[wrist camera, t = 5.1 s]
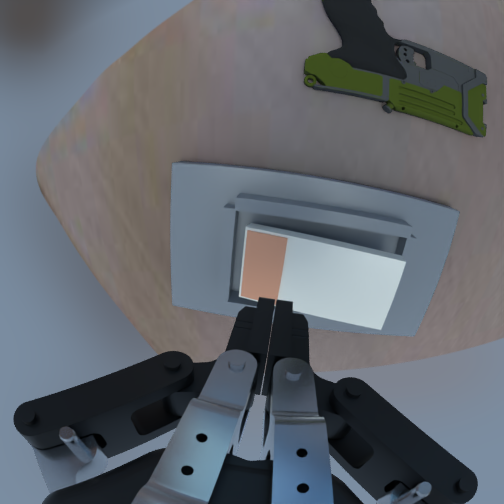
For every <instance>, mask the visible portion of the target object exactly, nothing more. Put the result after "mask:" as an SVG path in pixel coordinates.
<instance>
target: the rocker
mask: <svg viewBox="0 0 504 504" xmlns="http://www.w3.org/2000/svg"><path fill="white" fill-rule="evenodd" d="M405 264H406V261H405V259H404V257H403V256H401V255H397V254H393V253H388V252H384V251H380V250H376V249H371V248H367V247H363V246H358V245H354V244H350V243H345V242H341V241H336V240H331V239H327V238H322V237H318V236H313V235H308V234H303V233H299V232H294V231H289V230H284V229H279V228H274V227H269V226H264V225H259V224H254V223H250V224H249V225H247V226H246V228H245V238H244V248H243V258H242V268H241V279H240V289H239V297H242V298H246V299H250V300H254V301H257V302H258V299H259V297H264V298H270V299H275V305H274V306H276V301H277V299H278V300H285V301H293V311H297V312H301V313H305V314H310V315H314V316H318V317H323V318H327V319H331V320H336V321H340V322H345V323H350V324H354V325H359V326H364V327H369V328H373V329H378V330H381V329H382V326H383V324H384V321H385V319H386V317H387V314H388V312H389V309H390V306H391V304H392V301H393V299H394V296H395V293H396V290H397V288H398V285H399V282H400V279H401V276H402V273H403V270H404V267H405Z"/></svg>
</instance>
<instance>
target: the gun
mask: <svg viewBox="0 0 504 504" xmlns="http://www.w3.org/2000/svg"><path fill="white" fill-rule="evenodd" d="M322 2H323V5H324V8H325V10H326V12H327V14H328V16H329V18H330V20H331V21H332V23H333V24H334V26H335V27H336V28H337V30H338V32H339V33H340V35H341V37H342V41H343V46H342V47H341V48H339V49H336V50H333V51H330V52H328V53H319V54H315V55H312V56H309V57H308V59H306V60H305V67H304V74H306V75H307V76H306V77H305V79H304V83H305V85H306V86H308V87H313V89H315V90H322V91H329V92H335V93H341V94H346V95H351V96H356V97H361V98H366V99H370V100H375V101H379V102H386V103H387V104H386V105H384V106H383V107H382V108H383V109H384V111H385V112H387V113H391V112H392V109H393V110H395V111H399V112H403V113H406V114H410V115H413V116H417V117H420V118H423V119H426V120H430V121H433V122H436V123H439V124H441V125H444V126H447V127H450V128H452V129H455V130H458V131H460V132H463V133H465V134H468V135H473V136H476V137H483V136H486V126H487V125H486V124H483V104H487V99H486V86H485V85H487V77H486V75H485V74H484V73H482V72H480V71H478V70H477V69H473V68H471V67H469V66H467V65H465V64H463V63H461V62H459V61H457V60H455V59H453V58H451V57H448V56H446V55H444V54H442V53H439V52H437V51H434V50H432V49H430V48H427V47H425V46H422V45H419V44H417V43H414V42H411V41H408V40H398V39H394V38H392V37H391V36H389V35H388V34H387V32H386V30H385V28H384V24H383V21H382V20H381V19H380V18H379V17H378V15H377V10H376V8H375V7H374V6H373V5H372V3H371V0H322ZM394 45H398V46H400V47H399V48H398V49H397V57H395V51H394ZM414 51H415V52H418V53H420V54H423V55H424V57H425V59H426V69H424V68H421V67H418V66H416V63H415V62H414V61H413V60H414V59H413V54H414ZM404 55H405V56H404ZM406 61H407V62H406ZM308 79H312V81H313V83H309V82H308ZM316 80H317V81H318V82H319V83H320V84H321V85H316Z"/></svg>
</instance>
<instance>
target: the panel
mask: <svg viewBox="0 0 504 504" xmlns="http://www.w3.org/2000/svg"><path fill="white" fill-rule="evenodd" d="M459 213H460V212H459V211H457V210H455V209H453V208H452V207H449V206H446V205H443V204H439V203H436V202H432V201H429V200H425V199H421V198H417V197H414V196H410V195H406V194H402V193H398V192H394V191H389V190H385V189H381V188H376V187H371V186H367V185H362V184H357V183H352V182H347V181H342V180H337V179H331V178H325V177H320V176H313V175H307V174H301V173H294V172H287V171H280V170H273V169H265V168H256V167H247V166H238V165H227V164H216V163H202V162H187V161H179V162H174V163H172V180H171V218H170V246H171V284H172V305H174V306H179V307H184V308H189V309H194V310H199V311H204V312H209V313H215V314H220V315H226V316H232V317H237V315H238V312H239V311H240V310H241V309H243V308H244V307H245V306H248V307H255V308H256V307H257V303H258V302H257V301H254V300H250V299H246V298H242V297H239V289H240V279H241V268H242V258H243V248H244V238H245V228H246V226H247V225H249V224H250V223H254V224H259V225H264V226H269V227H274V228H279V229H284V230H289V231H294V232H299V233H303V234H308V235H313V236H318V237H322V238H327V239H331V240H336V241H341V242H345V243H350V244H354V245H358V246H363V247H367V248H371V249H376V250H380V251H384V252H388V253H393V254H397V255H401V256H403V257H404V259H405V261H406V264H405V267H404V270H403V273H402V276H401V279H400V282H399V285H398V288H397V290H396V293H395V296H394V299H393V301H392V304H391V306H390V309H389V312H388V314H387V317H386V319H385V321H384V324H383V326H382V329H381V330H378V329H373V328H369V327H364V326H359V325H354V324H350V323H345V322H340V321H336V320H331V319H327V318H323V317H318V316H314V315H310V314H305V313H301V312H297V311H293V313H298V314H303V315H304V316H305V318H306V319H307V321H308V328H315V329H324V330H333V331H343V332H354V333H366V334H380V335H396V336H415V334H416V332H417V330H418V328H419V326H420V323H421V321H422V319H423V317H424V315H425V313H426V310H427V308H428V306H429V303H430V301H431V299H432V296H433V294H434V291H435V289H436V286H437V283H438V281H439V278H440V275H441V273H442V270H443V267H444V264H445V261H446V258H447V255H448V252H449V249H450V246H451V242H452V239H453V236H454V232H455V228H456V225H457V221H458V217H459ZM275 307H276V306H274V312H273V319H274V313H275ZM273 319H272V323H273Z"/></svg>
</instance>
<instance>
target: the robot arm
mask: <svg viewBox="0 0 504 504" xmlns="http://www.w3.org/2000/svg"><path fill="white" fill-rule="evenodd" d="M274 305H275V299H270V298H264V297H259V299H258V303H257V307H256V308H255V307H248V306H245V307H244V308H243V309H241V310H240V311H239V312H238V315H237V318H236V321H235V324H234V328H233V330H232V333H231V336H230V339H229V342H228V345H227V348H226V351H225V352H223V353H222V354H221V355H220V356H219V357H218V358H217V360H214V361H211V362H202V363H193V361H192V359H191V358H190V357H189V356H188V355H186V354H184V353H182V352H178V351H169V352H165V353H162V354H160V355H157V356H155V357H152V358H150V359H147V360H145V361H142V362H140V363H137V364H135V365H133V366H130V367H127V368H125V369H122V370H119V371H117V372H114V373H111V374H109V375H106V376H104V377H101V378H98V379H95V380H92V381H89V382H87V383H84V384H81V385H78V386H75V387H72V388H69V389H66V390H63V391H61V392H58V393H55V394H51V395H48V396H45V397H42V398H38V399H35V400H32V401H28V402H25V403H23V404H21V405H20V406H19V407H18V408H17V410H16V411H15V414H14V425H15V427H16V429H17V430H18V431H19V432H20V434H21V435H22V436H23V437H24V438H25V439H26V440H27V441H28V443H29V444H30V445H31V446H32V447H33V449H34V452H35V456H36V459H37V461H38V464H39V467H40V470H41V472H42V475H43V478H44V480H45V482H46V485H47V487H48V490H49V492H50V494H49V495H48V496H47V497H46V498H45V500H44V501H43V503H42V504H363V503H362V501H360V499H359V498H358V497H357V496H356V495H355V494H354V493H353V492H352V491H351V490H350V489H349V488H348V487H347V486H346V484H345V483H344V482H343V481H341V480H340V479H339V478H337V477H336V476H334V475H333V474H331V467H330V456H329V454H330V455H331V456H332V457H333V458H334V459H335V460H336V461H337V462H338V463H339V464H340V465H341V466H342V467H343V468H344V469H345V470H346V471H347V472H348V473H349V474H350V475H351V476H352V477H353V478H354V479H355V480H356V481H357V482H358V483H359V484H360V485H361V486H362V487H363V488H364V489H365V490H366V491H367V492H368V493H369V494H370V495H371V496H372V497H373V498H374V499H375V500H377V502H376V504H465V503H466V502H468V501H469V500H470V499H472V498H473V496H474V495H475V493H476V490H477V486H478V482H477V478H476V476H475V474H474V472H472V471H471V470H470V469H469V468H467V467H466V466H465V465H464V464H462V463H461V462H460V461H459V460H457V459H456V458H455V457H454V456H452V455H451V454H450V453H448V452H447V451H446V450H445V449H444V448H443V447H441V446H440V445H439V444H438V443H436V442H435V441H434V440H433V439H432V438H430V437H429V436H428V435H426V434H425V433H424V432H423V431H422V430H421V429H419V428H418V427H417V426H416V425H415V424H413V423H412V422H411V421H410V420H409V419H407V418H406V417H405V416H404V415H403V414H402V413H400V412H399V411H398V410H397V409H396V408H394V407H393V406H392V405H391V404H390V403H389V402H387V401H386V400H385V399H384V398H383V397H381V396H380V395H379V394H378V393H377V392H376V391H374V390H373V389H372V388H371V387H370V386H369V385H368V384H366V383H365V382H364V381H362V380H360V379H357V378H352V377H351V378H350V377H348V378H343V379H341V380H339V381H338V382H337V383H333V382H330V381H327V380H325V379H322V378H320V377H319V376H317V375H316V374H315V373H314V372H313V370H312V368H311V366H310V363H309V332H308V321H307V319H306V318H305V316H304V315H303V314H298V313H293V301H285V300H278V299H277V301H276V307H275V313H274V319H273V312H274ZM272 319H273V325H272ZM271 326H272V331H271ZM270 333H271V337H270ZM269 339H270V344H269ZM268 346H269V351H268ZM267 353H268V357H267ZM266 358H267V364H266ZM265 364H266V370H265ZM264 370H265V377H264V383H263V389H262V395H265V396H267V398H266V404H265V409H264V417H263V434H262V449H261V456H260V460H259V461H258V460H257V461H248V460H245V459H242V458H240V457H237V451H238V447H239V444H240V441H241V438H242V435H243V432H244V428H245V425H246V422H247V419H248V415H249V412H250V408H251V407H252V404H253V401H254V396H255V394H258V395H260V391H261V385H262V380H263V375H264ZM175 428H176V430H175V432H174V434H173V435H172V437H171V439H170V441H169V443H168V445H167V447H166V448H162V449H158V450H155V451H152V452H149V453H147V454H145V455H143V456H141V457H139V458H137V459H135V460H132V461H130V462H128V463H126V464H124V465H122V466H120V467H117V468H115V469H113V470H110V471H108V472H106V473H103V474H101V473H102V472H103V471H104V470H105V468H106V467H107V462H108V461H107V458H110V457H112V456H115V455H117V454H120V453H122V452H125V451H127V450H130V449H132V448H134V447H136V446H138V445H141V444H143V443H146V442H148V441H150V440H152V439H154V438H156V437H158V436H160V435H162V434H164V433H167V432H169V431H170V430H173V429H175ZM99 474H101V475H99ZM97 475H98V476H97ZM95 476H96V477H95Z"/></svg>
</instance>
